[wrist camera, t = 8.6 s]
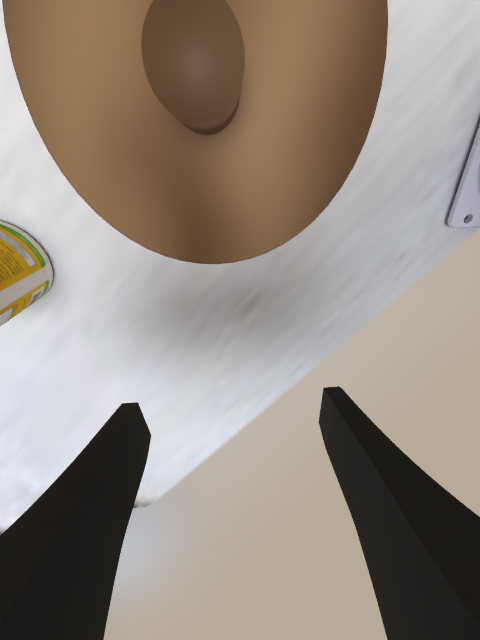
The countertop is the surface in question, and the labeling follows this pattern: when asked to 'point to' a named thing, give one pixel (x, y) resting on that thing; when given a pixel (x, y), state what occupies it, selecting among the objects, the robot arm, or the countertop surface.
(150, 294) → the countertop surface
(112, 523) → the robot arm
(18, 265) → the supplement bottle
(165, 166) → the lid
